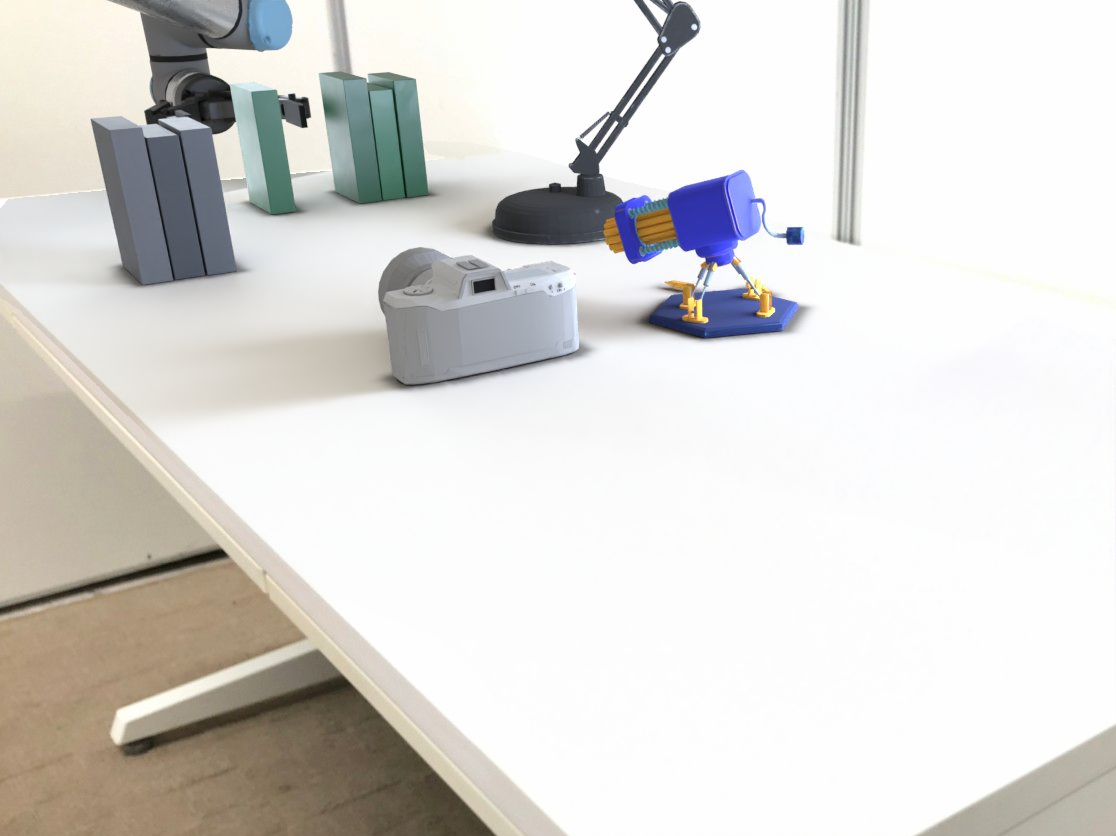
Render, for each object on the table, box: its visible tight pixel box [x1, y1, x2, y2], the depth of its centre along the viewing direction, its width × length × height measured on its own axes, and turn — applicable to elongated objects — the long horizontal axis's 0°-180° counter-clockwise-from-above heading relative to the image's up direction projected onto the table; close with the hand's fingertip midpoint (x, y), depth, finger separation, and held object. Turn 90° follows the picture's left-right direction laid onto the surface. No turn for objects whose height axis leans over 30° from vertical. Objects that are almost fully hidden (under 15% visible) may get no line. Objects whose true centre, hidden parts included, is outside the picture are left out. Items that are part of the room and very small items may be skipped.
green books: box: [318, 71, 429, 204], centre depth 164 cm, size 9×9×14 cm
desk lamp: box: [491, 0, 701, 245], centre depth 139 cm, size 24×26×45 cm
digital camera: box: [377, 246, 580, 386], centre depth 107 cm, size 17×14×10 cm
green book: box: [229, 81, 297, 215], centre depth 157 cm, size 9×3×14 cm, turn 34°
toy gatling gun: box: [604, 169, 805, 339], centre depth 116 cm, size 14×18×13 cm
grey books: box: [90, 115, 238, 286], centre depth 130 cm, size 9×9×15 cm
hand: (248, 121), depth 159 cm, fingers open, 13 cm apart
